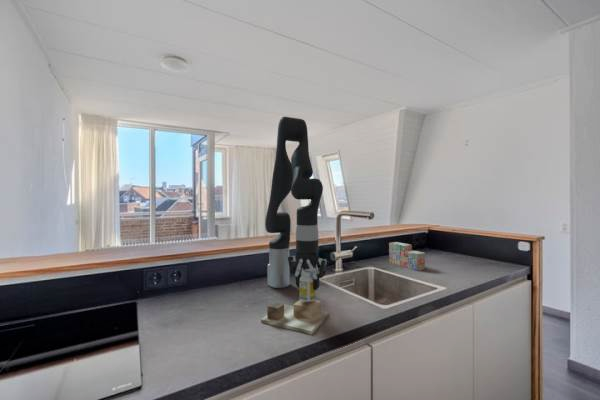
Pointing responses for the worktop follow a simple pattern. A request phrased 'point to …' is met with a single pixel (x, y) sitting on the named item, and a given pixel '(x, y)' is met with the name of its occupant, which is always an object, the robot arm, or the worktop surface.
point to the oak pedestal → (307, 309)
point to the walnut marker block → (275, 311)
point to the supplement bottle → (306, 286)
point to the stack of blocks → (406, 256)
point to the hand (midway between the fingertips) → (307, 287)
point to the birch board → (296, 321)
